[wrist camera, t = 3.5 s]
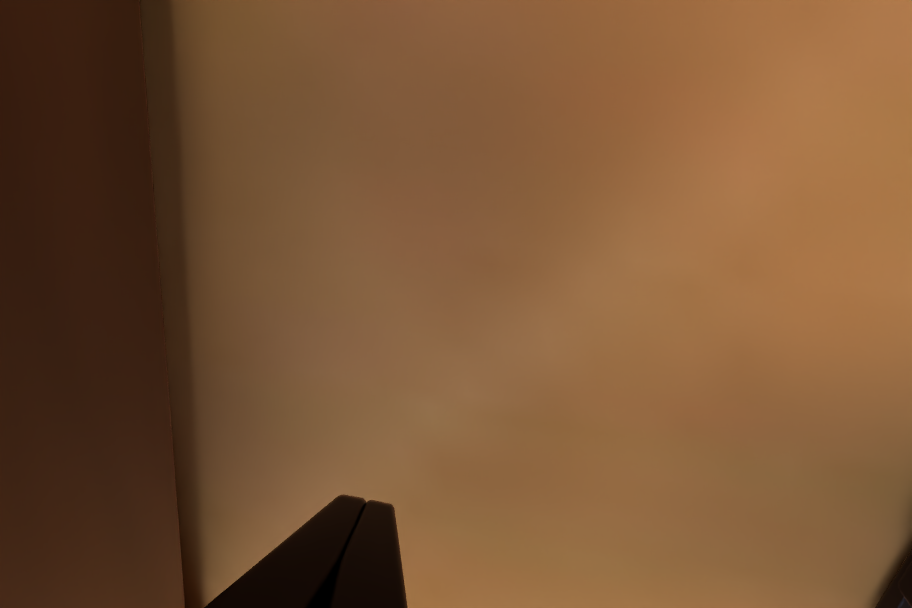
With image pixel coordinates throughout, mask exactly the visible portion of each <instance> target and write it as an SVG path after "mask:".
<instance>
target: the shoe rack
mask: <svg viewBox="0 0 912 608" xmlns="http://www.w3.org/2000/svg"><path fill="white" fill-rule="evenodd" d="M0 608H185V600H184V587H183V574H182V561H181V547H180V534H179V521H178V507H177V494H176V481H175V467H174V454H173V441H172V428H171V414H170V401H169V388H168V374H167V361H166V348H165V334H164V321H163V308H162V295H161V281H160V268H159V255H158V241H157V228H156V215H155V201H154V188H153V175H152V162H151V148H150V135H149V122H148V108H147V95H146V82H145V69H144V55H143V42H142V29H141V15H140V2H139V0H0Z"/></svg>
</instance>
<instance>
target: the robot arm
mask: <svg viewBox="0 0 912 608" xmlns="http://www.w3.org/2000/svg"><path fill="white" fill-rule="evenodd" d="M204 608H407V601H406V593H405V585H404V578H403V570H402V563H401V555H400V548H399V540H398V533H397V525H396V518H395V510H394V507H393V505H392V504H389V503H384V502H379V501H374V500H370V501H368V502H367V503H366V501H365V500H364V499H363V498H359V497H354V496H349V495H340V496H338V497H336V498H335V499H334V500H333V501H332V502H330V503H329V504H328V505H327V506H326V507H324V508H323V509H322V510H321V511H320V512H318V513H317V514H316V515H315V516H314V517H312V518H311V519H310V520H309V521H308V522H306V523H305V524H304V525H303V526H302V527H300V528H299V529H298V530H297V531H296V532H294V533H293V534H292V535H291V536H290V537H288V538H287V539H286V540H285V541H284V542H282V543H281V544H280V545H279V546H277V547H276V548H275V549H274V550H273V551H271V552H270V553H269V554H268V555H267V556H265V557H264V558H263V559H262V560H261V561H259V562H258V563H257V564H256V565H255V566H253V567H252V568H251V569H250V570H249V571H247V572H246V573H245V574H244V575H243V576H241V577H240V578H239V579H238V580H237V581H235V582H234V583H233V584H232V585H231V586H229V587H228V588H227V589H226V590H225V591H223V592H222V593H221V594H220V595H219V596H217V597H216V598H215V599H214V600H213V601H211V602H210V603H209V604H208V605H206V606H205V607H204ZM875 608H912V550H911V551H910V553H909V555H908V556H907V558H906V559H905V561H904V563H903V564H902V566H901V567H900V569H899V571H898V572H897V574H896V575H895V577H894V579H893V580H892V582H891V583H890V585H889V587H888V588H887V590H886V591H885V593H884V595H883V596H882V598H881V599H880V601H879V603H878V604H877V606H876V607H875Z"/></svg>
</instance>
